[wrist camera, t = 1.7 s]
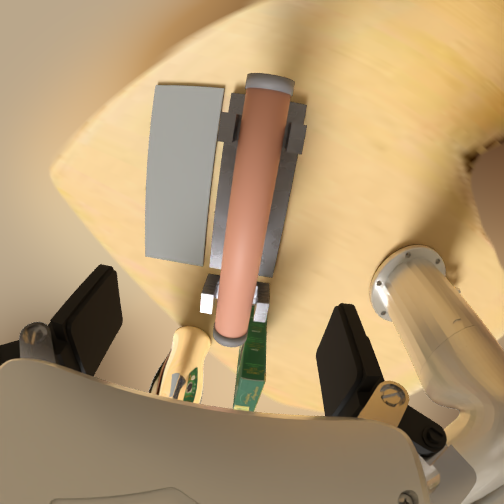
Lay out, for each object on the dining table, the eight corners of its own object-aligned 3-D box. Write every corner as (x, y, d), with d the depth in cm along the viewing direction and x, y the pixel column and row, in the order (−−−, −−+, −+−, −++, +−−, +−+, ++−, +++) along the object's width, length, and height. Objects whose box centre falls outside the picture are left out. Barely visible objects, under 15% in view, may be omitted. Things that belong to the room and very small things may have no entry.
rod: (248, 78, 18) (245, 70, 15) (292, 85, 18) (296, 79, 15) (215, 321, 27) (210, 343, 24) (248, 326, 27) (245, 349, 24)
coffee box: (257, 346, 43) (253, 416, 31) (239, 343, 43) (230, 413, 31) (268, 307, 39) (267, 380, 28) (248, 303, 39) (240, 376, 27)
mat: (224, 88, 27) (224, 88, 27) (203, 264, 37) (202, 266, 37) (157, 85, 27) (155, 85, 27) (146, 254, 37) (145, 256, 36)
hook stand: (305, 105, 28) (331, 94, 16) (272, 272, 37) (272, 344, 25) (232, 93, 27) (209, 74, 16) (211, 262, 37) (186, 330, 25)
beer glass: (162, 330, 43) (131, 405, 29) (197, 317, 41) (171, 399, 27) (188, 358, 45) (166, 432, 32) (222, 348, 43) (207, 428, 30)
